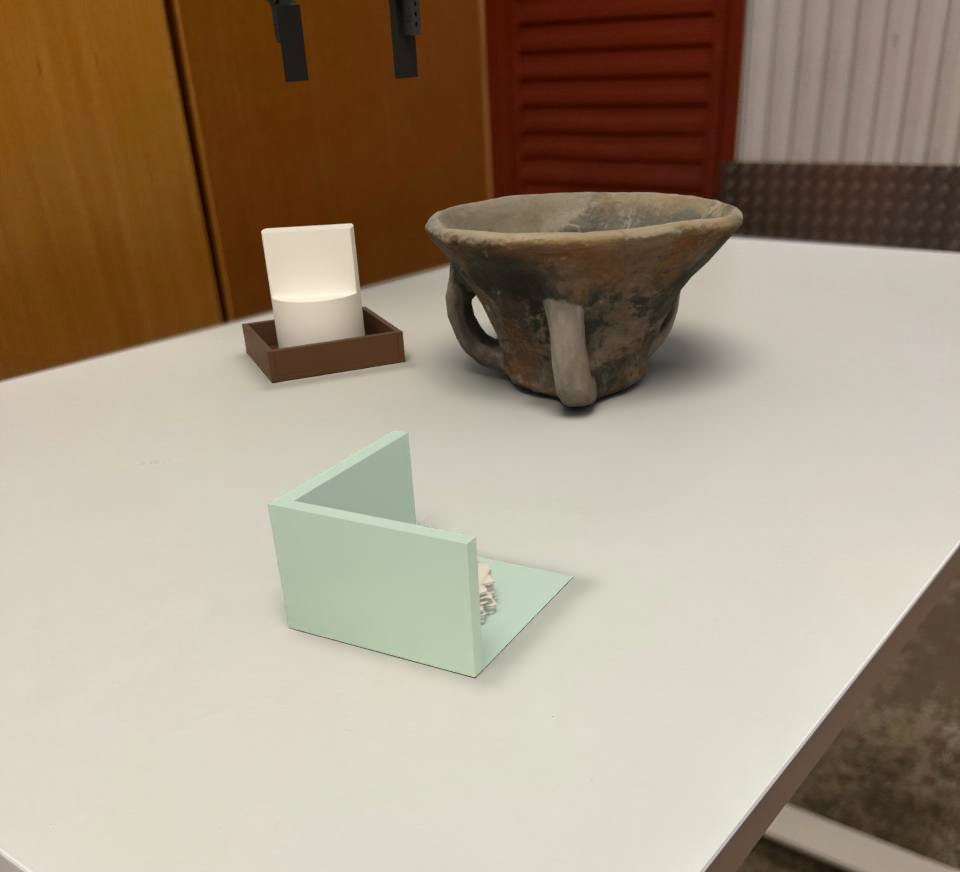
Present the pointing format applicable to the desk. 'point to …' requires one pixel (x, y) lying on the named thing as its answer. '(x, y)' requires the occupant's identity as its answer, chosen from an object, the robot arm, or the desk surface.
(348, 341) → the tray
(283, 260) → the base with upright slab
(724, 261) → the desk surface
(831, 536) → the desk surface
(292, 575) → the l-shaped corner panel
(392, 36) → the robot arm
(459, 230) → the bowl
